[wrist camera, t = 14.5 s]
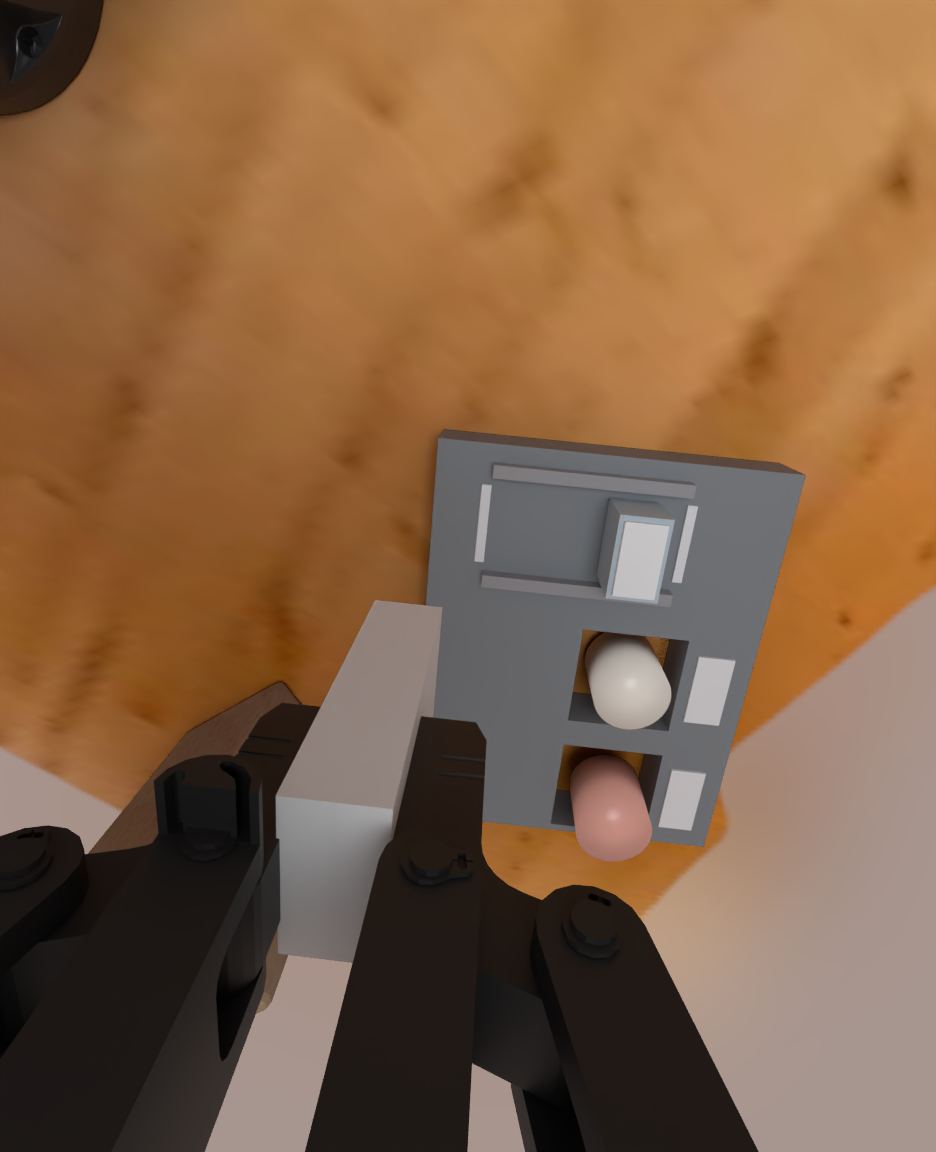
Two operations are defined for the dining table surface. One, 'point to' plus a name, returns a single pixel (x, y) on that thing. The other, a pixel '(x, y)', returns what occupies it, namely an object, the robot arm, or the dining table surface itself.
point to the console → (598, 612)
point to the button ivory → (626, 680)
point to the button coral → (609, 809)
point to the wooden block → (206, 739)
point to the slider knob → (634, 550)
